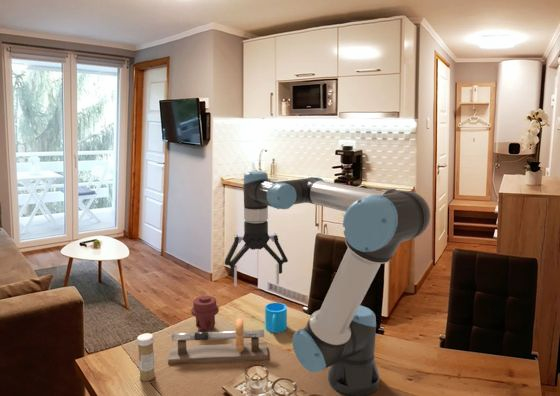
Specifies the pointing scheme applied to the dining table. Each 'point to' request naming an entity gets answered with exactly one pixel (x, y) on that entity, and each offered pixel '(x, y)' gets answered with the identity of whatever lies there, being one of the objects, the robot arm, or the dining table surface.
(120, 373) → the dining table surface
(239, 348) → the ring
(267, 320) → the mug
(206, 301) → the mechanical component
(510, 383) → the dining table surface
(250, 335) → the rod
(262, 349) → the stand
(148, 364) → the sprinkles bottle
